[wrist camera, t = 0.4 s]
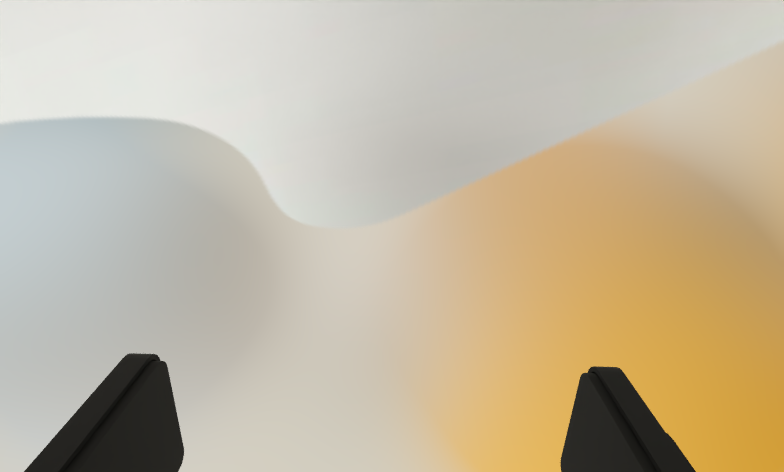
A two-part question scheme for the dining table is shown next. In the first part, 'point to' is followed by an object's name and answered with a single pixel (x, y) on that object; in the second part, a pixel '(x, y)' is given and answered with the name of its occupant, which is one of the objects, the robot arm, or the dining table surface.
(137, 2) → the dining table surface
